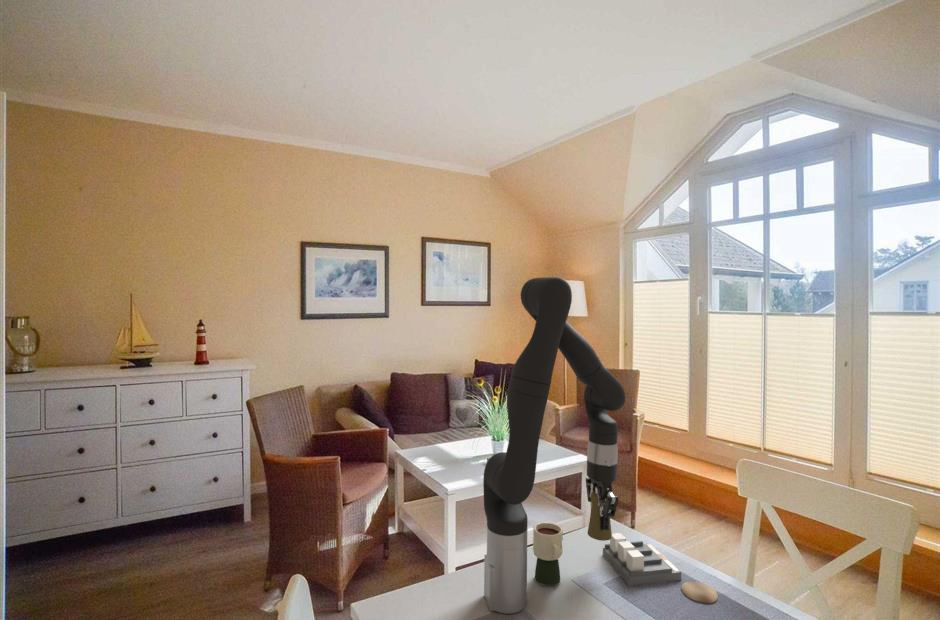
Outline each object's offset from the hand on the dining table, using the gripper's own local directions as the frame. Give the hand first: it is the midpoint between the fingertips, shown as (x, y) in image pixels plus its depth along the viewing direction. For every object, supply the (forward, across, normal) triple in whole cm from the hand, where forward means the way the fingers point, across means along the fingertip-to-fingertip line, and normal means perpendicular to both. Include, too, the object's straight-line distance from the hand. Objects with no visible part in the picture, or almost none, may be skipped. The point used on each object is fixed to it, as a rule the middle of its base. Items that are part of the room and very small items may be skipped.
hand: (599, 525), depth 120 cm
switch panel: (+11, 0, +12) cm, 16 cm away
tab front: (+9, +4, +8) cm, 13 cm away
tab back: (+9, -4, +8) cm, 13 cm away
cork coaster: (+11, +12, +20) cm, 26 cm away
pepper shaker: (+3, 0, 0) cm, 3 cm away
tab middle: (+9, 0, +8) cm, 12 cm away
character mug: (+12, +2, -14) cm, 19 cm away
